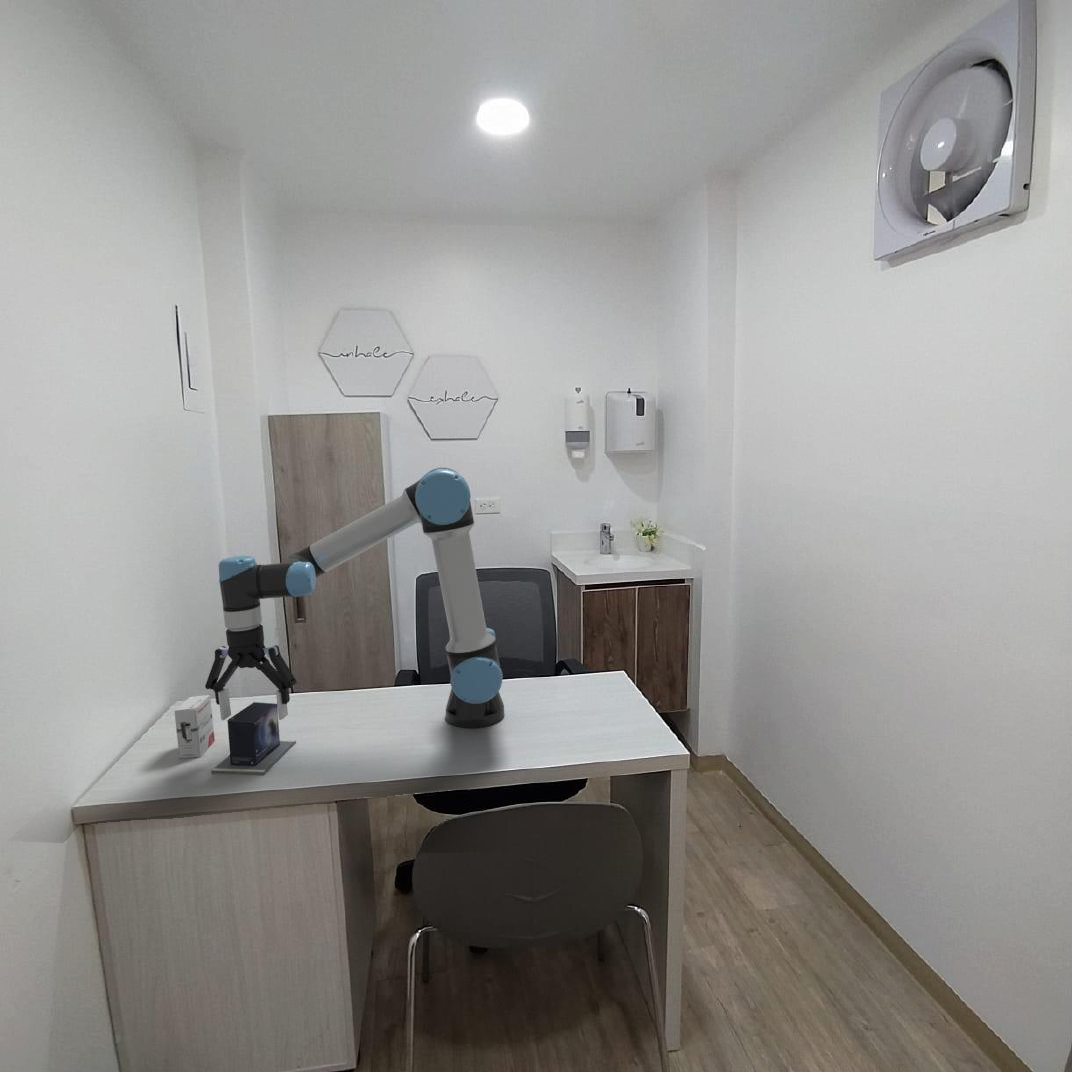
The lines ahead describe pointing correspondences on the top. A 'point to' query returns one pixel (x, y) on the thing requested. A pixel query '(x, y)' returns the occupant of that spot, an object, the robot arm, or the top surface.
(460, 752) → the top surface
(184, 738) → the ink box
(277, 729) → the small box
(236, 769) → the mat
